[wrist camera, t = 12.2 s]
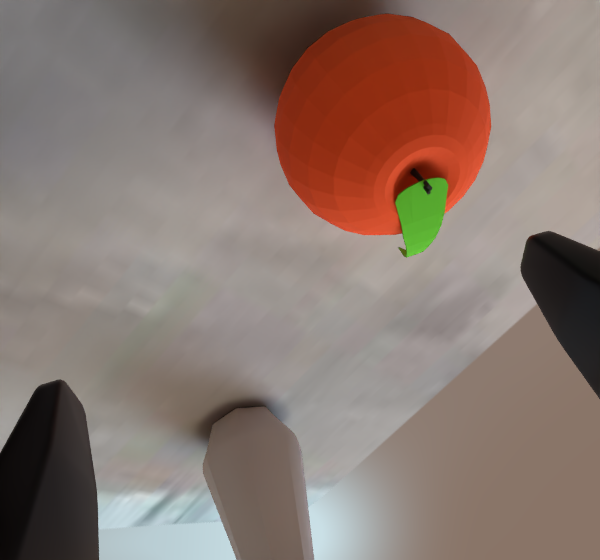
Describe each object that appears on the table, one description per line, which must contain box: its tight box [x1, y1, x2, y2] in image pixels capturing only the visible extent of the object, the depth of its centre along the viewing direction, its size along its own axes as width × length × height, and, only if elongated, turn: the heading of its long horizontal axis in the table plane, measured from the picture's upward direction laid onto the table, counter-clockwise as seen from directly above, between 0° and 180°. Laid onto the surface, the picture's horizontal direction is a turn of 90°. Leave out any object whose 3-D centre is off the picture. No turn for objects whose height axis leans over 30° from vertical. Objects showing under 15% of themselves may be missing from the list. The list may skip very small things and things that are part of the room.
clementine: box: [274, 14, 491, 257], centre depth 18 cm, size 8×7×7 cm
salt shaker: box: [203, 406, 314, 560], centre depth 29 cm, size 6×6×13 cm
